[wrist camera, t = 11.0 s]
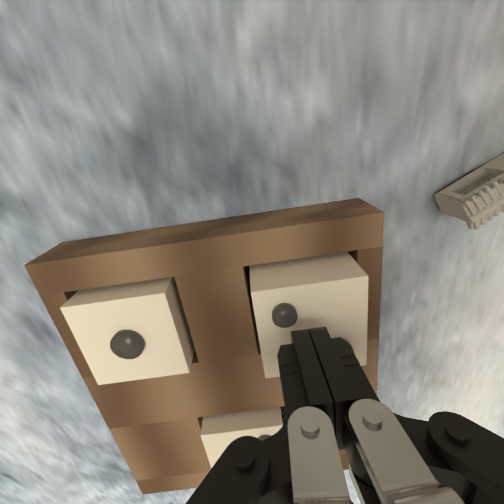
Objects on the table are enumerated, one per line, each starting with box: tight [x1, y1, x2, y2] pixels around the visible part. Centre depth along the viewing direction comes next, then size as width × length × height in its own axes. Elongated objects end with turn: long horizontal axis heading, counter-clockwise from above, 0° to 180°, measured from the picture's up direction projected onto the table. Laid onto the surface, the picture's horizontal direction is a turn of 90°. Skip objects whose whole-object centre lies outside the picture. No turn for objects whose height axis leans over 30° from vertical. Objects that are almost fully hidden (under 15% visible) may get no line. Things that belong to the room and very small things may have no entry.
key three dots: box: [201, 407, 283, 468], centre depth 19 cm, size 5×5×4 cm
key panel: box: [24, 198, 384, 494], centre depth 18 cm, size 17×19×3 cm
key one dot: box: [60, 277, 195, 385], centre depth 15 cm, size 5×5×4 cm
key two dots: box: [249, 252, 368, 379], centre depth 14 cm, size 5×5×4 cm
